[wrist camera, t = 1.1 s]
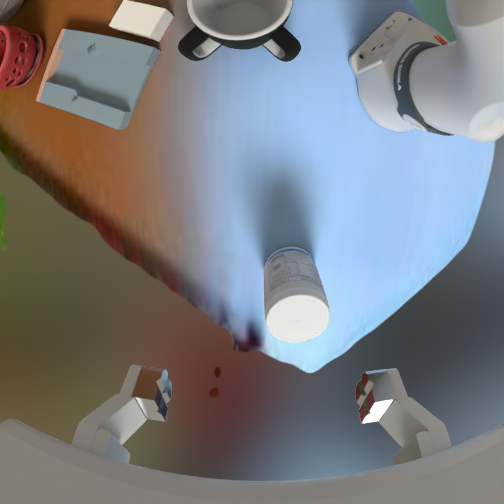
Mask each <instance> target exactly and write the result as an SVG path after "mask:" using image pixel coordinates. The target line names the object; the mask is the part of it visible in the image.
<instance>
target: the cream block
mask: <svg viewBox="0 0 504 504" xmlns="http://www.w3.org/2000/svg"><path fill="white" fill-rule="evenodd" d="M173 18H174V16H173V15H172V14H171V13H170V12H169V11H168V10H167V9H164V8H160V7H156V6H152V5H148V4H143V3H138V2H133V1H128V0H123V2H122V4H121V5H120V7H119V9H118V10H117V12H116V14H115V16H114V17H113V19H112V21H111V23H110V25H109V26H110V27H112V28H114V29H117V30H119V31H122V32H126V33H130V34H134V35H137V36H141V37H145V38H148V39H151V40H155V41H158V42H159V41H160V39H161V38H162V36H163V34H164V32H165V31H166V29H167V27H168V26H169V24H170V22H171V21H172V19H173Z"/></svg>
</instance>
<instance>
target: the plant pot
mask: <svg viewBox="0 0 504 504" xmlns="http://www.w3.org/2000/svg"><path fill="white" fill-rule="evenodd" d="M2 32H4V33H5V34H4V33H2ZM4 37H6V40H4V41H1V39H2V38H4ZM43 55H44V43H43V40H42V38H41V37H40V36H39V35H38V34H35V33H31V34H29V33H28V32H27V31H25V30H23V29H20V28H17V27H14V26H8V25H0V91H4V90H6V89H9V88H11V87H16V88H18V87H22V86H24V85H25V84H27V83H28V82H29V81H30V80H31V79H32V78H33V77H34V76H35V74H36V73H37V71H38V69H39V67H40V65H41V62H42V59H43Z"/></svg>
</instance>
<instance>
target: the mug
mask: <svg viewBox="0 0 504 504" xmlns="http://www.w3.org/2000/svg"><path fill="white" fill-rule="evenodd" d="M292 5H293V0H187V10H188V14H189V16H190V18H191V20H192V21H193V23H194V24H195V25H196V26H195V27H194V28H193V29H192V30H191V31H190V32H189V33H188V34H187V35H185V36H184V37H183V39H182V40H181V41H180V42H179V45H178V49H179V51H180V53H181V54H182V55H184V56H185V57H186V58H188V59H190V60H193V61H199V60H203V59H205V58H207V57H208V56H209V55H211V54H212V53H213V52H214V51H215V50H217V49H218V48H219V47H220V46H221V45H223V46H226V47H229V48H234V49H251V48H255V47H258V46H261V45H263V46H264V47H265V48H266V49H267V50H268V51H269V52H270V53H272V54H273V55H274V56H275V57H276V58H278V59H279V60H281V61H284V62H287V61H291V60H293V59H294V58H295V57H296V56H297V55H298V54H299V52H300V50H301V45H300V43H299V41H298V40H297V39H296V38H295V37H294V36H293V35H292V34H291V33H290V32H289V31H288V30H287V29H286V28H284V27H283V26H284V24H285V23H286V21H287V19H288V17H289V15H290V12H291V9H292ZM208 37H209V38H208ZM207 38H208V39H207ZM205 39H206V40H205ZM204 40H205V41H204ZM203 41H204V42H203ZM202 42H203V43H202ZM201 43H202V44H201ZM200 44H201V45H200Z"/></svg>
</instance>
